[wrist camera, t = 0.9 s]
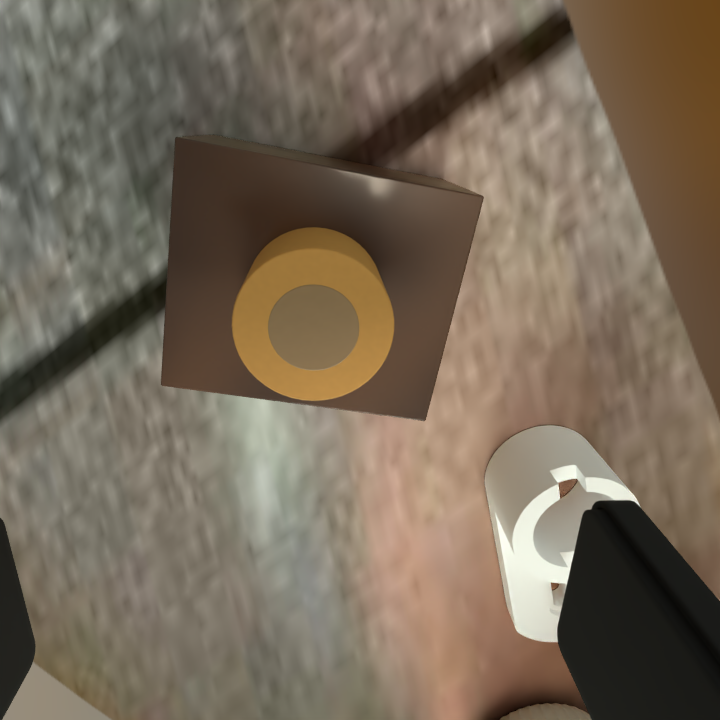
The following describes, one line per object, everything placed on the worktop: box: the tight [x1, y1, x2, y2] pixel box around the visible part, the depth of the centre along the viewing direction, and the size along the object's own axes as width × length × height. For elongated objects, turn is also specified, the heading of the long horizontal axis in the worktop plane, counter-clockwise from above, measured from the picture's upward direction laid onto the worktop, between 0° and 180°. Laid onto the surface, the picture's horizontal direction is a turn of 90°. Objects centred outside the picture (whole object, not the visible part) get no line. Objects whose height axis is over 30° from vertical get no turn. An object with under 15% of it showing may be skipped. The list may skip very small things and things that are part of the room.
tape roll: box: [232, 227, 394, 401], centre depth 25 cm, size 7×7×5 cm
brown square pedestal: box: [161, 135, 484, 421], centre depth 31 cm, size 14×12×9 cm
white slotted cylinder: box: [485, 425, 640, 642], centre depth 42 cm, size 20×9×7 cm, turn 13°
